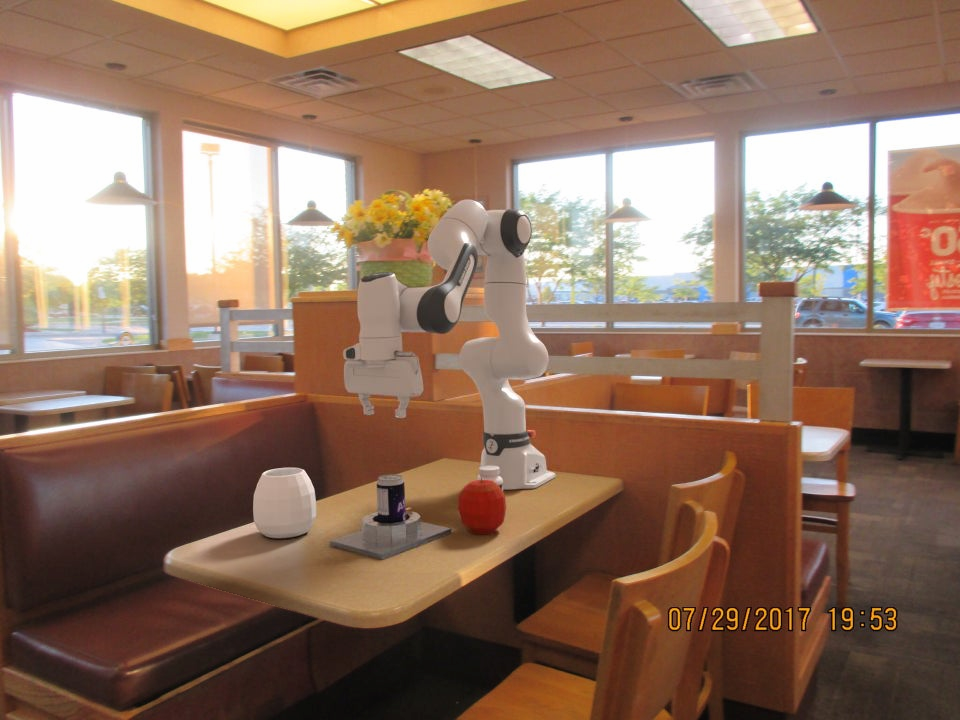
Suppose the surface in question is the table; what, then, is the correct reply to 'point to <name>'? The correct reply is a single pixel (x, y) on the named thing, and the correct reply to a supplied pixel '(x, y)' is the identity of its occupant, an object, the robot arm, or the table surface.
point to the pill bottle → (490, 474)
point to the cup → (284, 503)
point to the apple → (482, 506)
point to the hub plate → (388, 548)
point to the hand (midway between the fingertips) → (384, 416)
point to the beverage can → (391, 499)
